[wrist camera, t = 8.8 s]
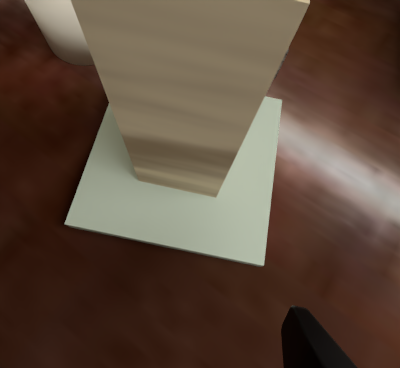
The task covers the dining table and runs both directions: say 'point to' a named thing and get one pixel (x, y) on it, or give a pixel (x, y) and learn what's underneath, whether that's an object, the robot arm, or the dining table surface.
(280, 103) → the tile
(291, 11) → the maple block
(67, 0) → the cream marshmallow cylinder
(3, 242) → the dining table surface
